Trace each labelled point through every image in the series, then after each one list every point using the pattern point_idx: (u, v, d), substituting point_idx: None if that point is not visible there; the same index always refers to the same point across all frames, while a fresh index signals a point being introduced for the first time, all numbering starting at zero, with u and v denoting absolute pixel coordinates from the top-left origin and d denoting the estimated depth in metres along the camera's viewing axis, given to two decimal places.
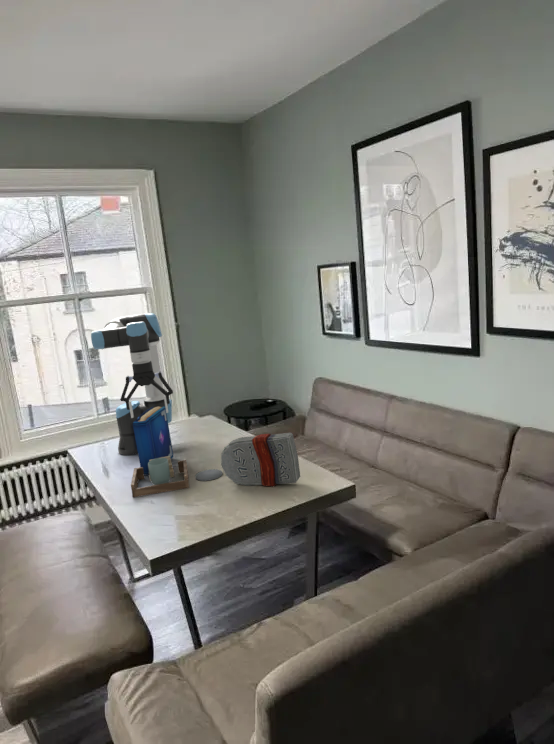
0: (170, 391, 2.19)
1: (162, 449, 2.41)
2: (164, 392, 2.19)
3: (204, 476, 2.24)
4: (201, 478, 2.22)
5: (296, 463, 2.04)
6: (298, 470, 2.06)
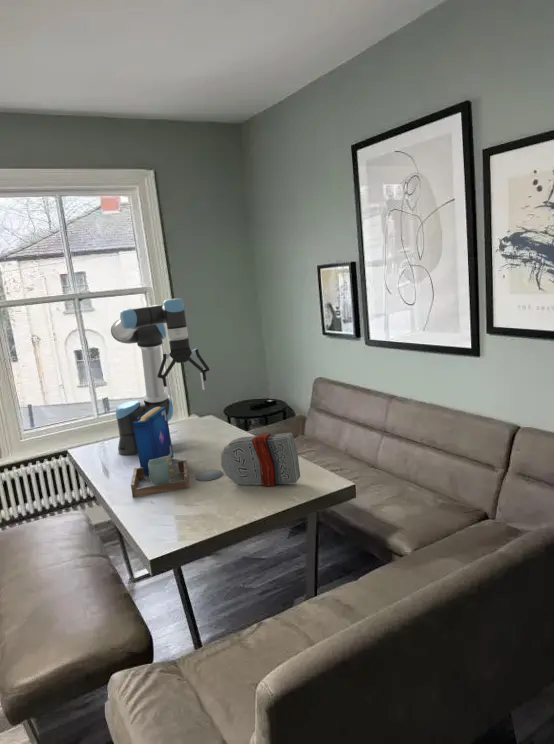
0: (207, 368, 2.19)
1: (162, 449, 2.41)
2: (201, 369, 2.19)
3: (204, 476, 2.24)
4: (201, 478, 2.22)
5: (296, 463, 2.04)
6: (298, 470, 2.06)
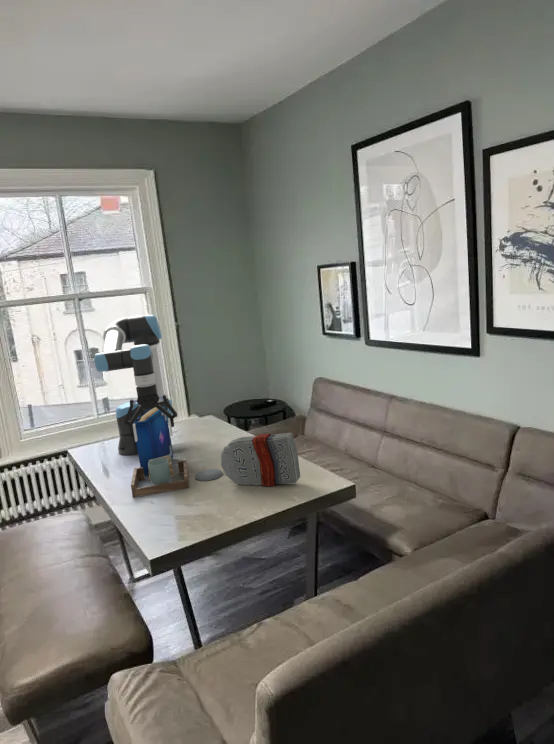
0: (174, 414, 2.16)
1: (162, 449, 2.41)
2: (168, 415, 2.16)
3: (204, 476, 2.24)
4: (201, 478, 2.22)
5: (296, 463, 2.04)
6: (298, 470, 2.06)
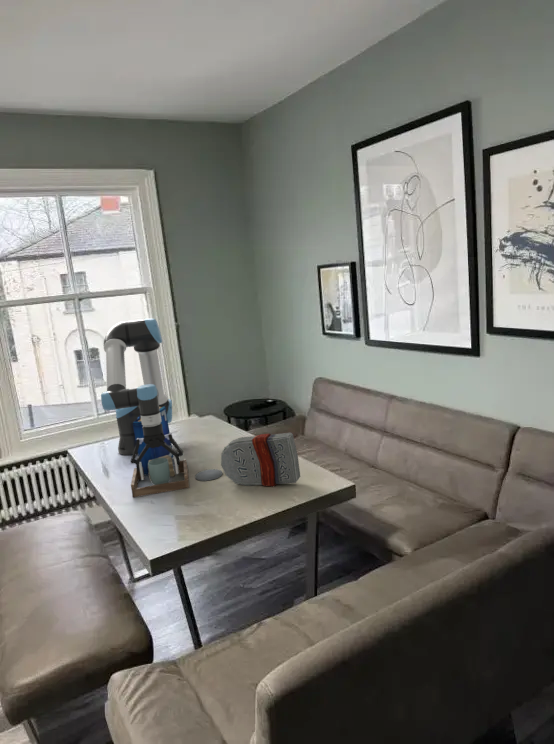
0: (180, 452, 2.19)
1: (162, 449, 2.41)
2: (174, 454, 2.19)
3: (204, 476, 2.24)
4: (201, 478, 2.22)
5: (296, 463, 2.04)
6: (298, 470, 2.06)
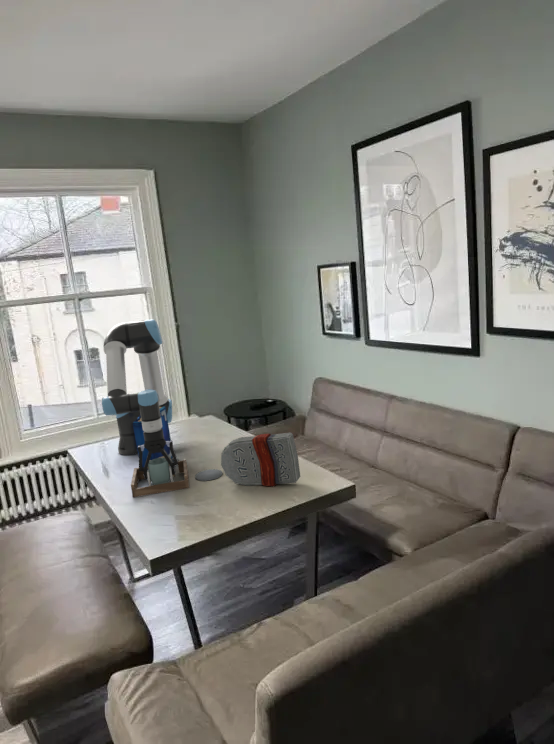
0: (176, 462, 2.20)
1: None
2: (170, 463, 2.19)
3: (204, 476, 2.24)
4: (201, 478, 2.22)
5: (296, 463, 2.04)
6: (298, 470, 2.06)
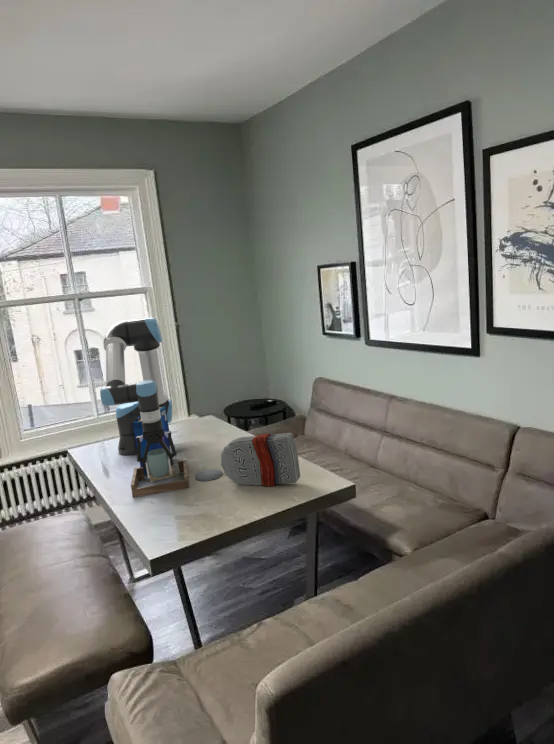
0: (174, 453, 2.19)
1: None
2: (169, 454, 2.19)
3: (204, 476, 2.24)
4: (201, 478, 2.22)
5: (296, 463, 2.04)
6: (298, 470, 2.06)
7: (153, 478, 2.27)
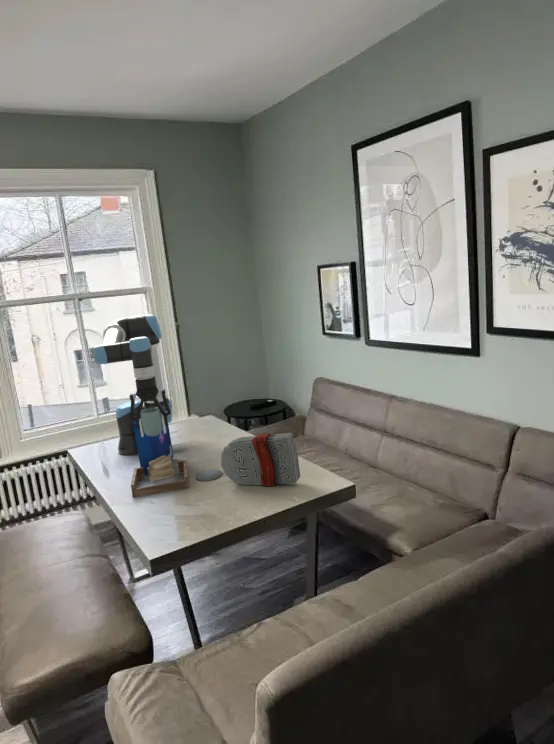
0: (168, 411, 2.16)
1: (162, 449, 2.41)
2: (163, 412, 2.15)
3: (204, 476, 2.24)
4: (201, 478, 2.22)
5: (296, 463, 2.04)
6: (298, 470, 2.06)
7: (153, 478, 2.27)
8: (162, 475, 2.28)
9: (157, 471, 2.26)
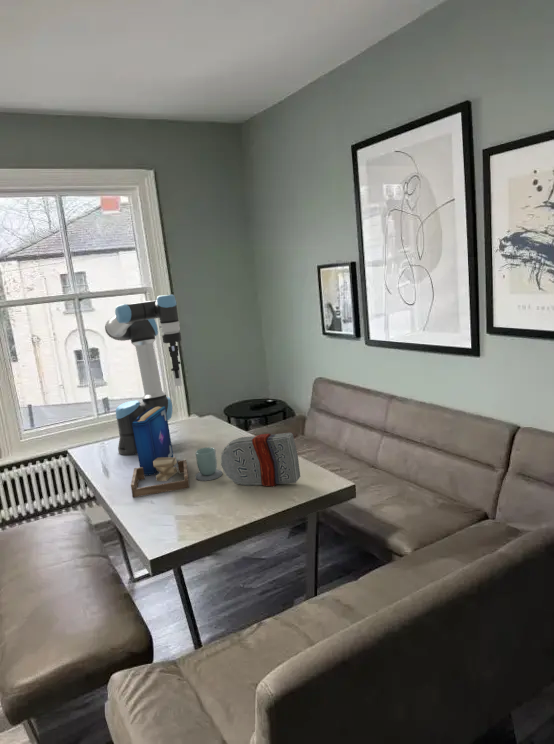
0: None
1: (162, 449, 2.41)
2: None
3: (204, 476, 2.24)
4: (201, 478, 2.22)
5: (296, 463, 2.04)
6: (298, 470, 2.06)
7: (167, 478, 2.26)
8: None
9: None
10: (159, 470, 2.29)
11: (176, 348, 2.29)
